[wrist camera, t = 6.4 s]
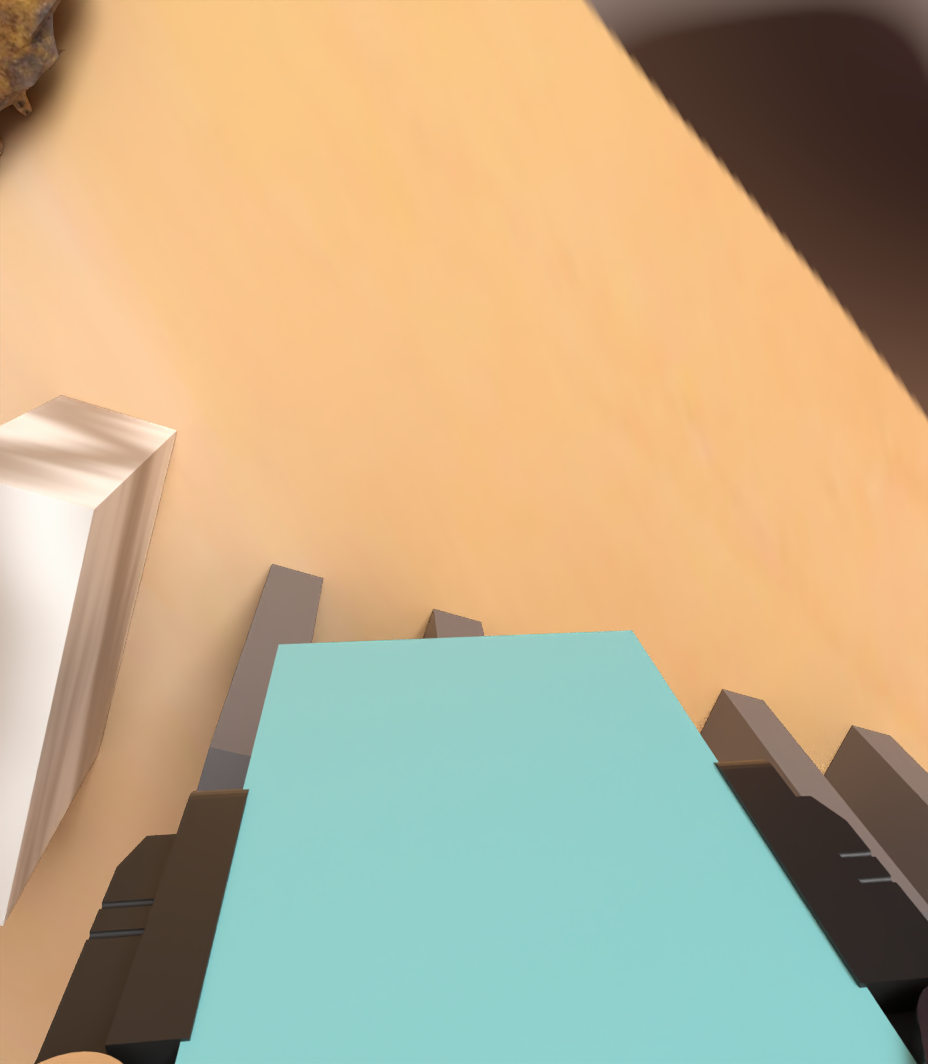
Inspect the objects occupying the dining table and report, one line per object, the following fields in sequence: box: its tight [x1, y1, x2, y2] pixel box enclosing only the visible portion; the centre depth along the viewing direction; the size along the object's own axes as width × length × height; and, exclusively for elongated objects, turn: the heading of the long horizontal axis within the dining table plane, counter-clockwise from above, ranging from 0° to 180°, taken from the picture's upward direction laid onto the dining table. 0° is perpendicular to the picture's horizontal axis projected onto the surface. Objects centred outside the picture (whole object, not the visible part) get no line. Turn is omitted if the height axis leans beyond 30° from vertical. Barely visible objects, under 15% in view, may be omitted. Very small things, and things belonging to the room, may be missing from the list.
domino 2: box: [175, 630, 917, 1064], centre depth 9 cm, size 2×6×12 cm, turn 90°
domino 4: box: [824, 725, 928, 904], centre depth 32 cm, size 2×6×12 cm, turn 161°
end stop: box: [0, 395, 177, 926], centre depth 27 cm, size 4×14×9 cm, turn 161°
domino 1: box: [197, 564, 323, 791], centre depth 27 cm, size 2×6×12 cm, turn 161°
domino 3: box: [700, 689, 928, 921], centre depth 31 cm, size 2×6×12 cm, turn 161°
